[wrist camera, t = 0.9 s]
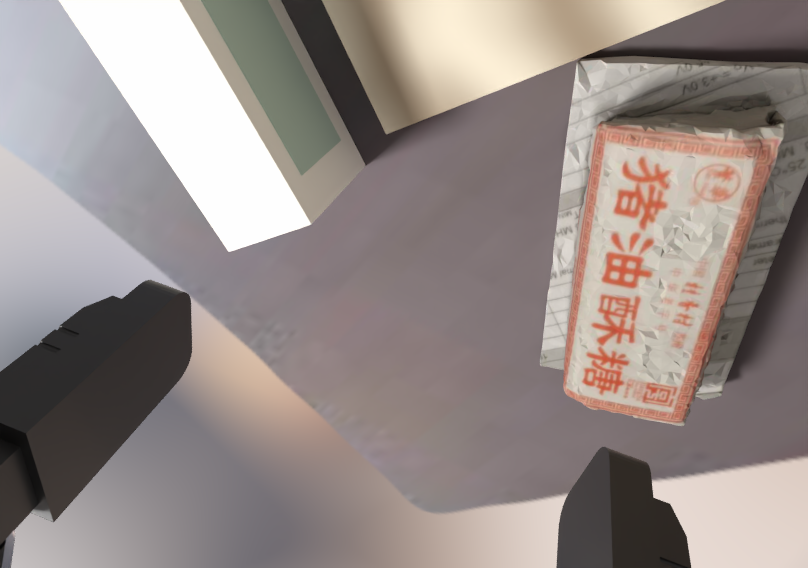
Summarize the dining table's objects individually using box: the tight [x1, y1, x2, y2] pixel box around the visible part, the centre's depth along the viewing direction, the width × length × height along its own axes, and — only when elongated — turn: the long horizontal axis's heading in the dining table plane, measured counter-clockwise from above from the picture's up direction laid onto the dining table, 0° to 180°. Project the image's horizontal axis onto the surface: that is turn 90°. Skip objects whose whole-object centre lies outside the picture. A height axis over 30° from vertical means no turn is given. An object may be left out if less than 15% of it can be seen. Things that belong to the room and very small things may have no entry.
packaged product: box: [540, 56, 808, 426], centre depth 27 cm, size 18×5×10 cm
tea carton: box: [59, 0, 366, 252], centre depth 27 cm, size 6×14×7 cm, turn 26°
